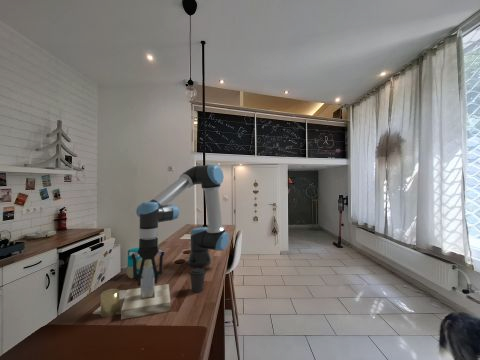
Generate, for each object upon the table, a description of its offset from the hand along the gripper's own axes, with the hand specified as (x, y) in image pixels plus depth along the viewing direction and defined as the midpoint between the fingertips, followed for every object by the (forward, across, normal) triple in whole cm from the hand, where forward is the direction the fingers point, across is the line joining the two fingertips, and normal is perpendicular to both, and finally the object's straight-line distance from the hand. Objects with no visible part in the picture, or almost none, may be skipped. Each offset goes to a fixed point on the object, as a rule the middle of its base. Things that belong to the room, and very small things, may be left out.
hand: (147, 291), depth 97 cm
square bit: (+2, 0, 0) cm, 2 cm away
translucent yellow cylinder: (+5, +14, +2) cm, 15 cm away
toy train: (+5, +4, -32) cm, 33 cm away
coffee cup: (+5, -22, -6) cm, 24 cm away
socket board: (+5, 0, 0) cm, 5 cm away
